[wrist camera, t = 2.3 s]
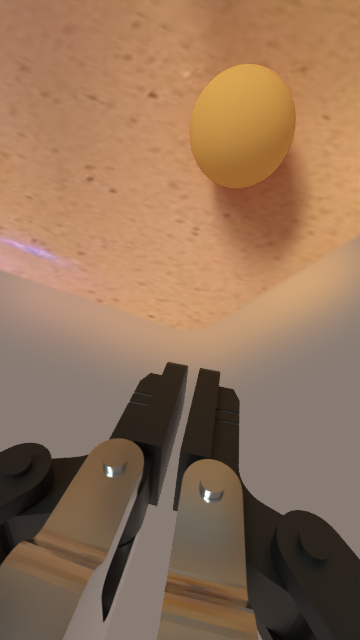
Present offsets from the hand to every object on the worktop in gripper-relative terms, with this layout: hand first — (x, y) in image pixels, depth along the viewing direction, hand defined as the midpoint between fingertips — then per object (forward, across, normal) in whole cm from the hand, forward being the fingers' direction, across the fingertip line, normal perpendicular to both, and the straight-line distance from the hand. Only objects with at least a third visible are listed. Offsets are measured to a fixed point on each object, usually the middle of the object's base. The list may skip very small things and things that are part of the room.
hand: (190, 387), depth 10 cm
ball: (+12, 0, -10) cm, 15 cm away
